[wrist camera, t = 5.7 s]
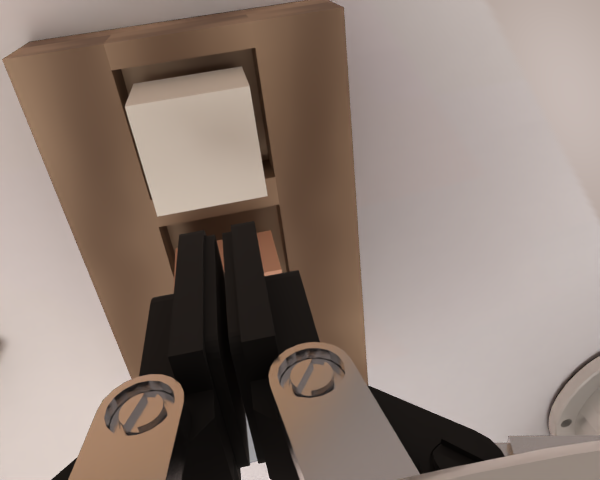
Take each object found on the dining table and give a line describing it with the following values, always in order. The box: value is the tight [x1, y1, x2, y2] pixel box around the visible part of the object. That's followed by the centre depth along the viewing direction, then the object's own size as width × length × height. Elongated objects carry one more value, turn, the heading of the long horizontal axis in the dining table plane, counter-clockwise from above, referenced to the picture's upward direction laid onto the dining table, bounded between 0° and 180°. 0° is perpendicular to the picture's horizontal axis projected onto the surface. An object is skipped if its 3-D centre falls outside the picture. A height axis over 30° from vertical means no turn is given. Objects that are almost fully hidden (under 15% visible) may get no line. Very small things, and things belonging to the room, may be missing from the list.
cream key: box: [125, 66, 268, 217], centre depth 19 cm, size 4×4×3 cm
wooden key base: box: [2, 0, 368, 385], centre depth 25 cm, size 12×20×4 cm, turn 7°
